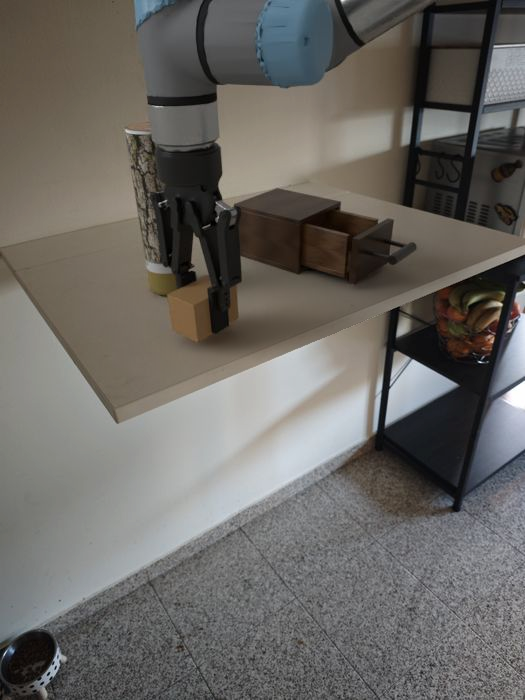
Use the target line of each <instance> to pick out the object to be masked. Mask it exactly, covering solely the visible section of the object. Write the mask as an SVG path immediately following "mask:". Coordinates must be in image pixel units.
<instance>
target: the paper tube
mask: <svg viewBox="0 0 525 700" xmlns="http://www.w3.org/2000/svg"><path fill="white" fill-rule="evenodd" d="M124 134H125V141H126V147H127V154H128V159H129V160H128V161H129V165H130V173H131V179H132V184H133V192H134V197H135V203H136V209H137V216H138V221H139V228H140V235H141V240H142V241H141V242H142V248H143V254H144V259H145V267H146V272H147V279H148V284H149V288H150V290H151V291H152V292H153V293H154V294H155V295H159V296H163V297H165V296H166V297H167V294H169V293H171V292H174V291H176V290H177V286H176V279H175V275H174V274H173V273H172V270H171V268H169V267H167V268H165V267H164V266H163V264H162V260H161V253H160V246H159V239H158V232H157V225H156V218H155V211H154V209H153V206H152V203H151V200H150V194H151V193H154V192H157V191H160V190H164V187H165V184H163V183H162V182H160V181H159V179H158V176H157V169H156V162H155V154H154V150H156V147H157V146H159V145H157V144H156V143H154V142H153V141H152V137H151V129H150V121H144V122H135V123H130V124H127V125H125V126H124ZM169 256H172V254H169ZM189 271H191V269H189V270H188V272H189Z"/></svg>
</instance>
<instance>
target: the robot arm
mask: <svg viewBox="0 0 525 700" xmlns="http://www.w3.org/2000/svg"><path fill="white" fill-rule="evenodd" d="M437 1H438V0H133V5H134V17H135V25H134V30H135V33H136V35H137V41H138V49H139V53H140V59H141V64H142V70H143V75H144V82H145V87H146V89H145V90H146V94H145V95H146V100H147V103H146V104H147V112H148V119H149V120H148V122H150V129H151V137H152V141H153V142H154V143H156V144H157V145H159V146H157V147H156V150H154V154H155V162H156V169H157V176H158V179H159V181H160V182H162V183H163V184H165V187H164V190H160V191H157V192H154V193H151V194H150V200H151V203H152V206H153V209H154V211H155V218H156V225H157V232H158V239H159V246H160V253H161V260H162V264H163V266H164V267H165V268H167V267H169V268H171V270H172V273H173V274H174V275H175V279H176V286H177V290H178V289H180V288H182V287H184V286H186V285H188V284H190V283H192V282H194V281H196V280H198V279H197V271H195V270H191V269H194V268H195V264H194V263H192V257H193V244H194V237H196V238H197V239H198V241H199V244H200V248H201V250H202V251H201V252H202V255H203V259H204V262H205V266H206V271H207V273H208V274H207V275H209V277H210V281H211V285H212V286H211V287H209V288H207V291H208V299H209V309H210V320H211V330H212V333H213V334H214V335H217V334H219V333H220V332H222V331H224V330H226V329H227V328H229V327H230V324H229V314H228V309H229V308H230V306H231V302H230V288H231V287H233V286H235V285H237V286H238V285H239V284H240V283H242V282H243V275H242V274H243V272H242V259H241V258H242V256H240V240H239V222H240V217H241V208H240V207H239V206H234V205H233V206H230V205H229V204H228V203H226V202H225V201H224V200H223V195H222V193H221V191H220V186H219V183H220V180H221V178H222V177H223V160H222V158H223V157H222V146H220V145H219V143H217V142H216V141H218V140H219V139H220V138H221V137H220V122H219V105H218V86H226V85H234V86H235V85H236V86H259V87H260V86H262V87H263V86H264V87H279V88H280V89H289V88H294V87H309V86H311V87H312V86H314V85H317V84H318V83H320V82H321V81H322V80H323V78H324V76H325V75H326V73H328V72H330V71H331V70H334V69H336V68H337V67H339V66H340V65H342V64H343V62H344V61H345V60H346V59H347V58H348V57H349V56H350V55H353V54H354V53H355V52H357V51H359V50H360V49H362V48H363V47H364V46H366V45H367V44H369V43H371V42H373V41H374V40H376V39H377V38H379V37H380V36H382V35H383V34H385V33H387V32H389V31H390V30H392V29H394V28H395V27H397V26H398V25H400V24H402V23H404V21H406V20H408V19H409V18H412V17H413V16H415V15H416V14H418V13H419V12H421V11H422V10H425V9H427V8H428V7H429V6H431V5H433V4H434V3H436V2H437ZM169 254H172V256H169ZM188 270H190V271H189V272H188ZM220 277H221V278H220Z"/></svg>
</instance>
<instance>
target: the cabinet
mask: <svg viewBox="0 0 525 700" xmlns="http://www.w3.org/2000/svg"><path fill="white" fill-rule="evenodd" d="M233 206H239V207H240V208H241V217H240V222H239V240H240V256H241V257H243V258H246V259H250V260H253V261H255V262H258V263H262V264H266V265H269V266H271V267H274V268H278V269H281V270H284V271H287V272H290V273H293V274H296V275H300V274H301V273H303V272H305V271H307V270H308V269H311V268H310V267H307V266H303V265H301V247H302V224H303V223H305V222H307V221H309V220H312V219H314V218H316V217H318V216H320V215H322V214H324V213H327V212H329V211H331V210H333V209H336V210H341V208H342V207H341V206H342V201H341V200H335V199H332V198H326V197H321V196H316V195H312V194H307V193H302V192H297V191H294V190H288V189H284V188H279V187H276V188H274V189H271V190H268V191H265V192H262V193H260V194H258V195H255V196H252V197H249V198H246V199H244V200H241V201H239V202H236V203H233Z"/></svg>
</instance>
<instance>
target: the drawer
mask: <svg viewBox="0 0 525 700" xmlns="http://www.w3.org/2000/svg"><path fill="white" fill-rule="evenodd" d="M394 222H395V219H394V218H393V219H392V218H390V217H389V218H386V219H384V220H382V221H381V222H379V218H376V217H371V216H367V215H363V214H358V213H354V212H350V211H345V210H341V209H340V210H336V209H333V210H331V211H329V212H327V213H324V214H322V215H320V216H318V217H316V218H314V219H312V220H309V221H307V222H305V223H303V224H302V247H301V265H303V266H307V267H310V268H309V269H312V270H316V271H320V272H322V273H325V274H330V275H333V276H335V277H339V278H341V279H345V278H347V277H348V284H349V285H350V284H351V285H353V286H356V285H357V284H359V283H361V282H362V281H363V280H365V279H366V278H368V277H369V276H371V275H373V274H374V273H375V272H377V271H378V270H380V269H381V268H383V267H384V266H386V265H387V264H389V265H390V266H395V265H397V264H398V263H400V262H401V261H403V260H404V259H405V258H407V257H408V256H410V255H411V254H412V253H413V254H414V252H416V250H417V249H418V245H417V244H416V242H415V241H410V242H408V243H403V242H400V241H396V240H392V237H393V231H394ZM392 246H393V247H397V248H399V249H398V250H396V251H395V252H393V253H391V247H392Z"/></svg>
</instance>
